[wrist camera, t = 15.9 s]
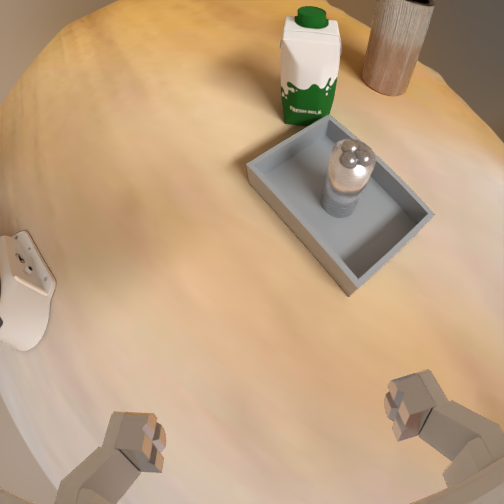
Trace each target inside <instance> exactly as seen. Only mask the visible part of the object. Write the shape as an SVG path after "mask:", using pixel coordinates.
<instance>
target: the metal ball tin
mask: <svg viewBox="0 0 504 504" xmlns="http://www.w3.org/2000/svg"><path fill="white" fill-rule="evenodd" d="M375 163H376V158H375V155H374V152H373V151H372V150H371V148H370V147H369V146H368V145H366V144H365V143H363V142H361V141H359V140H355V139H344V140H341V141H339V142H337V143H336V144H335V145H334V147H333V149H332V153H331V158H330V162H329V167H328V171H327V175H326V180H325V184H324V188H323V192H322V197H321V204H322V207H323V209H324V210H325V211H326V212H327V213H328V214H329V215H331V216H333V217H336V218H345V217H348V216H350V215H351V214H352V213H353V212H354V211H355V209H356V206H357V204H358V202H359V200H360V198H361V196H362V193H363V191H364V189H365V187H366V185H367V182H368V180H369V178H370V176H371V173H372V171H373V169H374V166H375Z"/></svg>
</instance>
